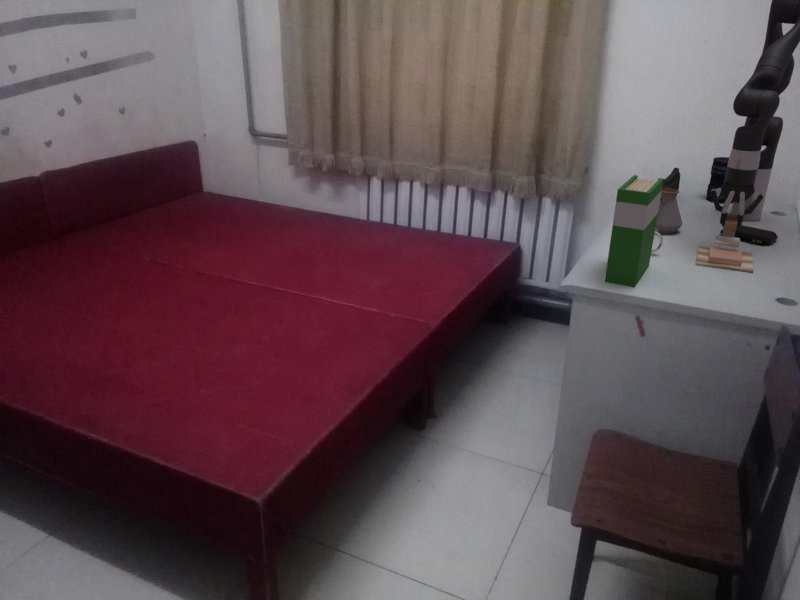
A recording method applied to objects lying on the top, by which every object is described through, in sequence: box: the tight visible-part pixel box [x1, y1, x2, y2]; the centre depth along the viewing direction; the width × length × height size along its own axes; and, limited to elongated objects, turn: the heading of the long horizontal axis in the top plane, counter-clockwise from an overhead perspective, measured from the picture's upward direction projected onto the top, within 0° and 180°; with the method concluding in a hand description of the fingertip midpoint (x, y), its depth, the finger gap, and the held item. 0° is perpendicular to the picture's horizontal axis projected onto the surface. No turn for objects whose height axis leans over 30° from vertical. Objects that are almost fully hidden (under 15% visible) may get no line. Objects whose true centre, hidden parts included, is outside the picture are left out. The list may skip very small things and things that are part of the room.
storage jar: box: [705, 156, 733, 205], centre depth 238 cm, size 10×10×15 cm
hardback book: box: [604, 174, 665, 289], centre depth 167 cm, size 18×7×24 cm, turn 150°
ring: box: [651, 227, 664, 254], centre depth 185 cm, size 7×3×8 cm, turn 61°
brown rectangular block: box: [714, 212, 741, 249], centre depth 184 cm, size 10×6×5 cm, turn 155°
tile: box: [709, 246, 743, 266], centre depth 180 cm, size 2×8×9 cm
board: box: [695, 245, 755, 274], centre depth 182 cm, size 16×14×1 cm
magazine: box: [657, 167, 681, 192], centre depth 235 cm, size 18×3×31 cm
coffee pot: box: [656, 188, 683, 235], centre depth 200 cm, size 21×12×15 cm, turn 143°
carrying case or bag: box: [719, 224, 779, 246], centre depth 199 cm, size 11×3×15 cm
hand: (729, 226), depth 186 cm, fingers closed on brown rectangular block, 3 cm apart
